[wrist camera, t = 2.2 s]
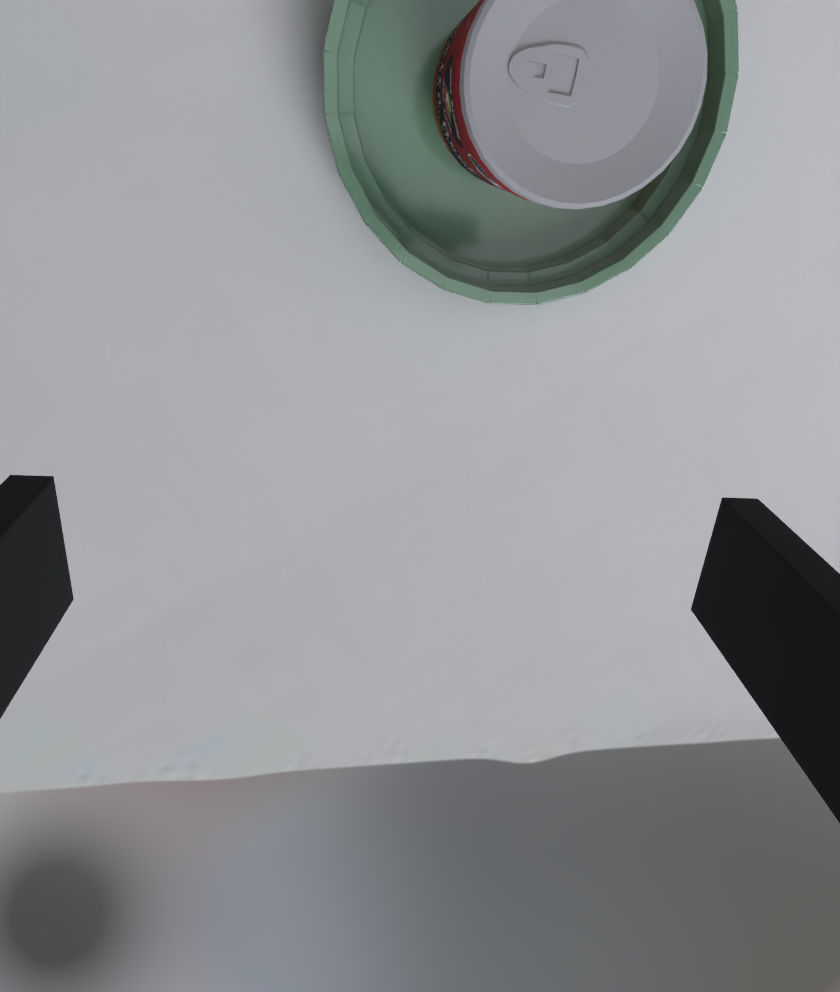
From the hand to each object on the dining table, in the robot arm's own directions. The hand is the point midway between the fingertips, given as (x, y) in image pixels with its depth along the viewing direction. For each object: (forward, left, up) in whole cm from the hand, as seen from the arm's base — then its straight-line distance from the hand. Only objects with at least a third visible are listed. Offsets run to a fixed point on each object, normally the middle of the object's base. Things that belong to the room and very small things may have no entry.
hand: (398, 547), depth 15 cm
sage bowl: (+4, +11, -25) cm, 27 cm away
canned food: (+4, +11, -25) cm, 27 cm away
